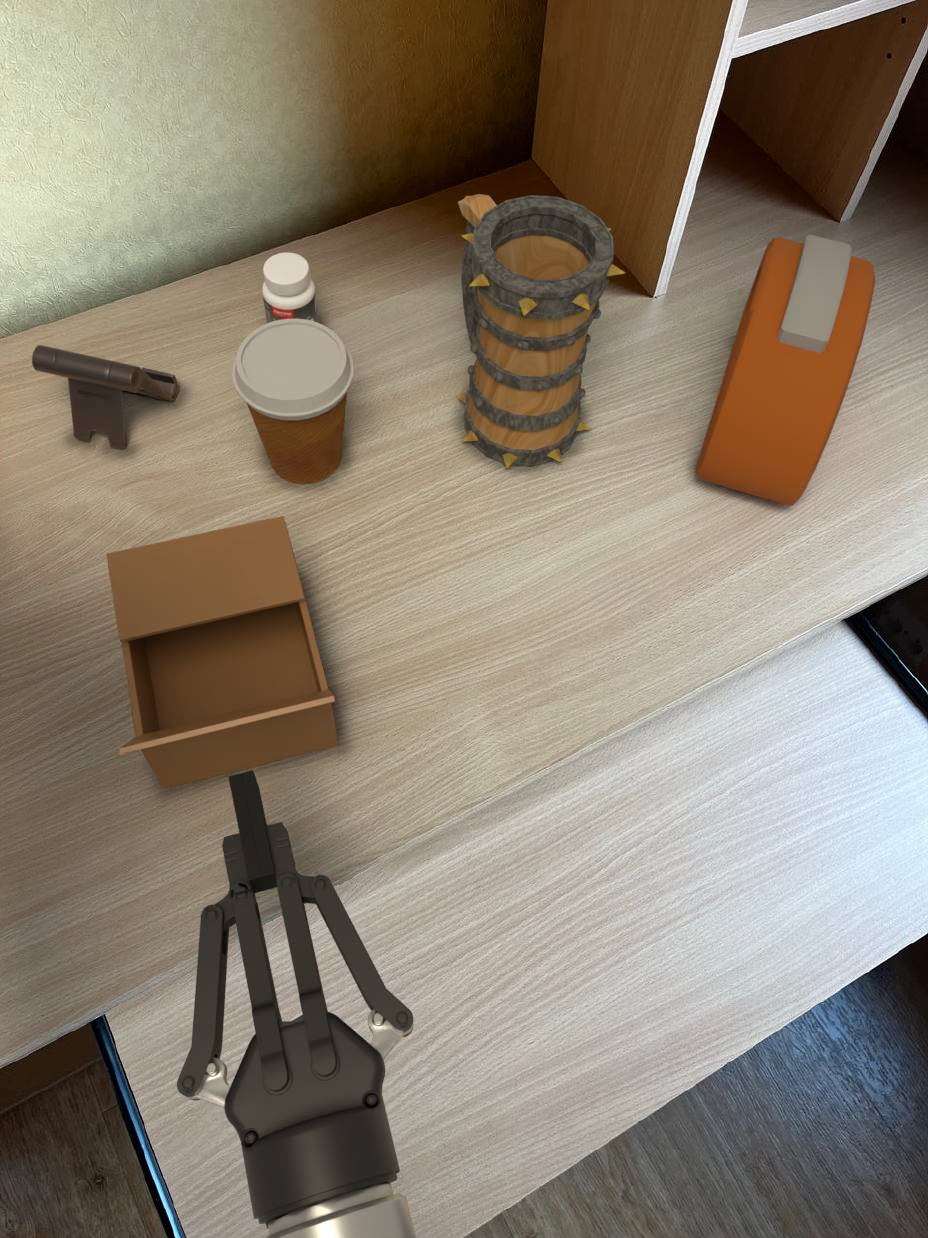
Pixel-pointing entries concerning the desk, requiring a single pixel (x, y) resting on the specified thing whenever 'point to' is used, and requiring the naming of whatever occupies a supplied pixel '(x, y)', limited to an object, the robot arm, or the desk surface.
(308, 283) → the pill bottle
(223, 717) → the flap
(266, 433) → the disposable coffee cup
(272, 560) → the carton
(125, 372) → the tablet stand
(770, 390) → the alarm clock
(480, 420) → the mug
